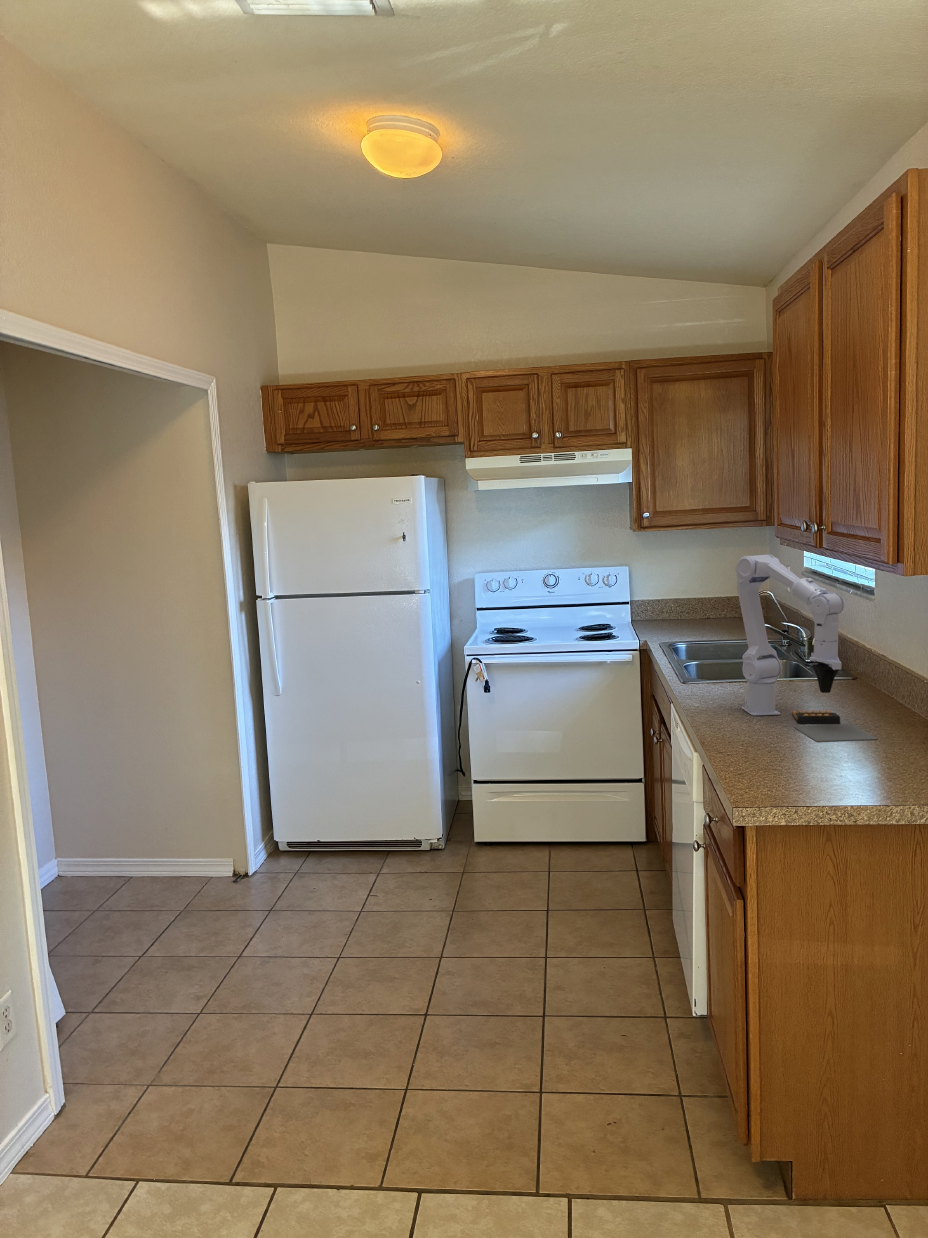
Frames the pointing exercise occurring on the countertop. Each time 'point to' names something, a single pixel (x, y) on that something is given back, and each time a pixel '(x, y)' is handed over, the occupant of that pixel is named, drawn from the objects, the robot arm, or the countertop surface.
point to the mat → (834, 733)
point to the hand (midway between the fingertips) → (825, 692)
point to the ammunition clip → (816, 717)
